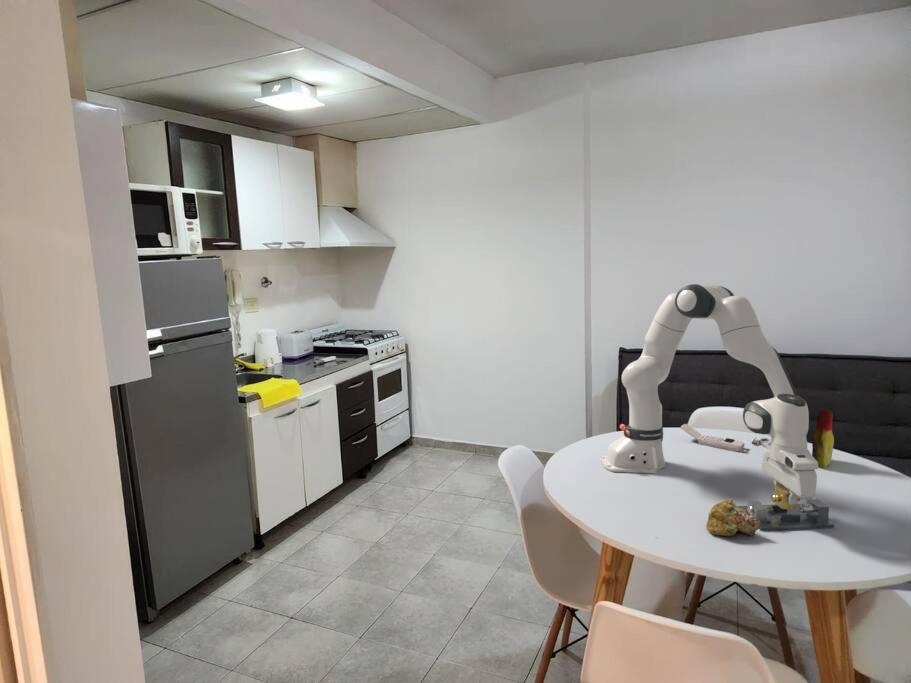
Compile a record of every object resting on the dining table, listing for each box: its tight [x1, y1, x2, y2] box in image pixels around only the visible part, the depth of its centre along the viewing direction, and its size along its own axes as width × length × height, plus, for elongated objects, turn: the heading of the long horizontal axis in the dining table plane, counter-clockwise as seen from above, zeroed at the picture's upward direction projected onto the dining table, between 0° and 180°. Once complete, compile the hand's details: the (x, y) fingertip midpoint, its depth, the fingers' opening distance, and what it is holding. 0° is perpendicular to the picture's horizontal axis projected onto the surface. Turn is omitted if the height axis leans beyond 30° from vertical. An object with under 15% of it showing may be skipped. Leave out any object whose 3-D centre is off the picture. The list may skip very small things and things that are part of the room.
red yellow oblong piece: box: [811, 408, 835, 468], centre depth 197 cm, size 12×6×20 cm, turn 142°
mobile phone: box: [679, 423, 748, 453], centre depth 220 cm, size 6×6×25 cm
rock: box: [706, 498, 761, 537], centre depth 154 cm, size 12×9×10 cm
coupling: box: [770, 484, 801, 509], centre depth 160 cm, size 7×4×6 cm, turn 90°
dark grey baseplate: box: [736, 498, 835, 532], centre depth 161 cm, size 21×13×5 cm, turn 90°
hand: (785, 499), depth 160 cm, fingers closed on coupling, 4 cm apart
